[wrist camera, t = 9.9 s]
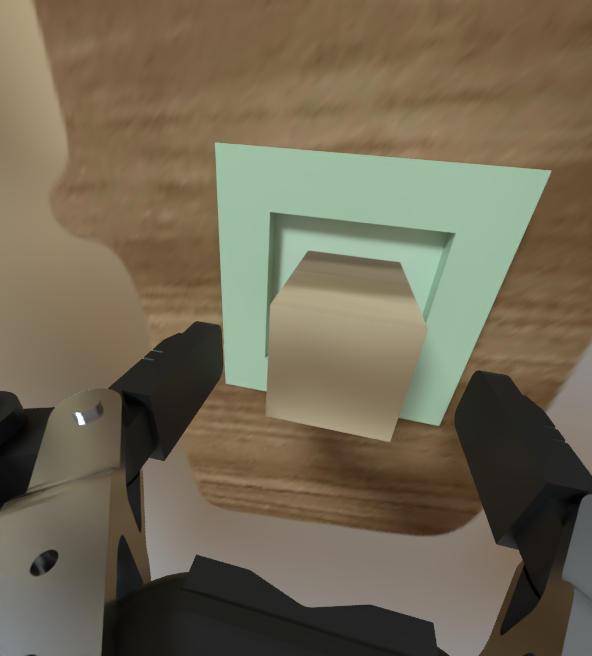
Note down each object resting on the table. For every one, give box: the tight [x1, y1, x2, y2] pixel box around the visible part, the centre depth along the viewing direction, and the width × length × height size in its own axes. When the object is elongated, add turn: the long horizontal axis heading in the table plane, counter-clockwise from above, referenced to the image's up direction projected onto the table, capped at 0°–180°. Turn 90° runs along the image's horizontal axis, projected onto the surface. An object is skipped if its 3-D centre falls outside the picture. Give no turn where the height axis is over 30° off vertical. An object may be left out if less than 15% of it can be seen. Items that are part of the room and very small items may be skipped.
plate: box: [215, 143, 551, 426], centre depth 16 cm, size 13×13×2 cm
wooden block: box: [266, 250, 428, 442], centre depth 12 cm, size 4×4×7 cm
